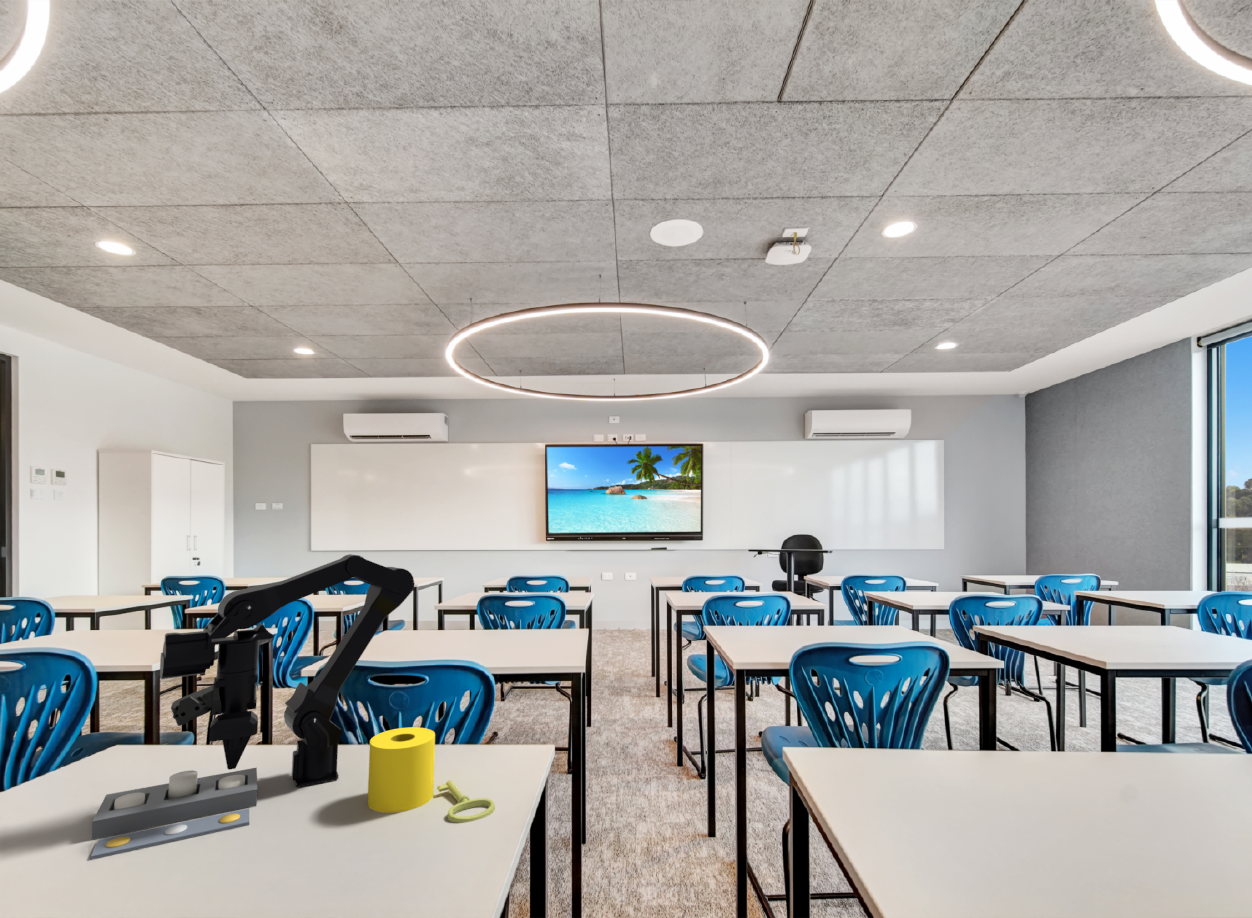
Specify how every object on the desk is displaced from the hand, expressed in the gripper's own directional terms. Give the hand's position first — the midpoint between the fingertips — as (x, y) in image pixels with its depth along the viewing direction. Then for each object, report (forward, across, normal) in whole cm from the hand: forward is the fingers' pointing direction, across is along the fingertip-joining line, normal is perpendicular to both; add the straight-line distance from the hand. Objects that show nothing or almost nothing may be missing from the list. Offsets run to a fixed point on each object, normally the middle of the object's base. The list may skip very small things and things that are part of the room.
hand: (231, 768), depth 100 cm
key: (+5, +22, +31) cm, 39 cm away
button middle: (+3, 0, -6) cm, 7 cm away
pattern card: (+5, +9, -6) cm, 12 cm away
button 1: (+5, 0, -13) cm, 14 cm away
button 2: (+5, 0, 0) cm, 5 cm away
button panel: (+5, 0, -6) cm, 8 cm away
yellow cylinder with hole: (+5, +14, +24) cm, 28 cm away
